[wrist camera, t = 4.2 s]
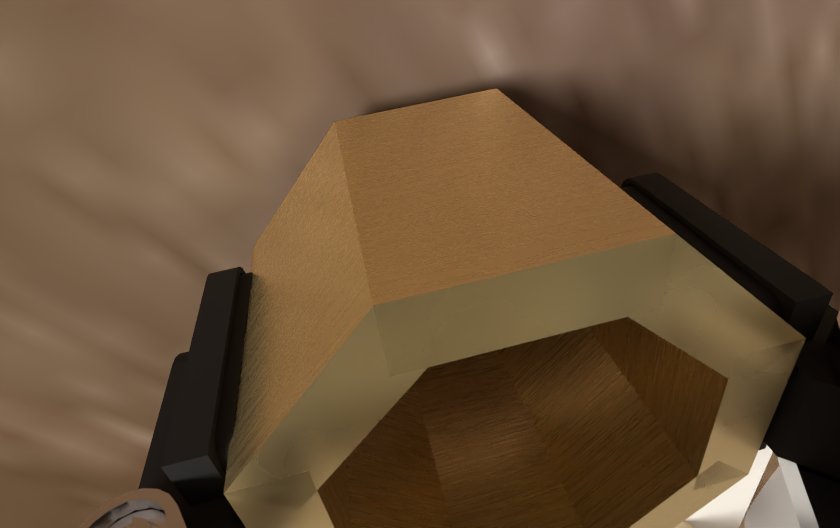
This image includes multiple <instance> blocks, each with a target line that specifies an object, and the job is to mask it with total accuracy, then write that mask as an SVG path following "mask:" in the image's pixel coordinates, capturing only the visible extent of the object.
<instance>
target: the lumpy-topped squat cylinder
mask: <svg viewBox="0 0 840 528" xmlns="http://www.w3.org/2000/svg"><path fill="white" fill-rule="evenodd" d="M745 528H800V525H799V522H798V519H797V516H796V512H795V509H794V506H793V503H792V500H791V497H790V494H789V491H788V488H787V485H786V482H785V479H784V476H783V473H782V470H781V467H780V466H779V467H778V468H777V470H776V471H775V472H774V473H773V475H772V476H771V477H770V479H769V480H768V481H767V483H766V484H765V485H764V487H763V488H762V489H761V491H760V492H759V494H758V495H757V497H756V498H755V500H754V501H753V503H752V504H751V506H750V508H749V510H748V511H747V514H746V517H745Z"/></svg>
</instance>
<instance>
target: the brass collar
mask: <svg viewBox="0 0 840 528" xmlns="http://www.w3.org/2000/svg"><path fill="white" fill-rule="evenodd" d="M251 272H252V279H251V288H250V296H249V305H248V313H247V322H246V330H245V339H244V347H243V356H242V364H241V373H240V381H239V390H238V398H237V407H236V415H235V424H234V432H233V436H232V439H231V442H230V446H229V454H228V462H227V470H226V478H225V487H224V495H225V497H226V498H227V500H228V501H229V503H230V504H231V506H232V507H233V509H234V510H235V512H236V513H237V515H238V516H239V518H240V519H241V521H242V522H243V524H244V526H245V527H246V528H675V527H676V526H677V525H679V524H680V523H682V522H683V521H684V520H686V519H687V518H689V517H690V516H691V515H693V514H694V513H695V512H697V511H698V510H700V509H701V508H702V507H704V506H705V505H707V504H708V503H709V502H711V501H712V500H713V499H715V498H716V497H718V496H719V495H720V494H722V493H723V492H725V491H726V490H727V489H729V488H730V487H731V486H733V485H734V484H736V483H737V482H738V481H740V480H741V479H743V478H744V477H745V476H747V475H748V474H749V472H750V469H751V467H752V465H753V462H754V460H755V458H756V455H757V453H758V450H759V448H760V446H761V443H762V441H763V439H764V436H765V434H766V432H767V429H768V427H769V424H770V422H771V420H772V417H773V415H774V413H775V410H776V408H777V406H778V403H779V401H780V399H781V396H782V394H783V391H784V389H785V387H786V384H787V382H788V380H789V377H790V375H791V373H792V370H793V368H794V365H795V363H796V361H797V358H798V356H799V354H800V351H801V349H802V347H803V344H804V342H805V339H806V338H805V337H804V336H802V335H801V334H800V333H799V332H798V331H796V330H795V329H794V328H793V327H791V326H790V325H789V324H788V323H786V322H785V321H784V320H783V319H781V318H780V317H779V316H778V315H777V314H775V313H774V312H773V311H772V310H770V309H769V308H768V307H767V306H765V305H764V304H763V303H762V302H760V301H759V300H758V299H757V298H755V297H754V296H753V295H752V294H750V293H749V292H748V291H747V290H745V289H744V288H743V287H742V286H740V285H739V284H738V283H737V282H736V281H734V280H733V279H732V278H731V277H729V276H728V275H727V274H726V273H724V272H723V271H722V270H721V269H719V268H718V267H717V266H716V265H714V264H713V263H712V262H711V261H710V260H708V259H707V258H706V257H705V256H703V255H702V254H701V253H700V252H698V251H697V250H696V249H695V248H693V247H692V246H691V245H690V244H689V243H687V242H686V241H685V240H684V239H682V238H681V237H680V236H679V235H677V234H676V233H675V232H674V231H672V230H671V229H670V228H669V227H667V226H666V225H665V224H664V223H663V222H661V221H660V220H659V219H658V218H656V217H655V216H654V215H653V214H651V213H650V212H649V211H648V210H646V209H645V208H644V207H643V206H642V205H640V204H639V203H638V202H637V201H635V200H634V199H633V198H632V197H630V196H629V195H628V194H627V193H625V192H624V191H623V190H622V189H620V188H619V187H618V186H617V185H616V184H614V183H613V182H612V181H611V180H609V179H608V178H607V177H606V176H604V175H603V174H602V173H601V172H600V171H598V170H597V169H596V168H595V167H593V166H592V165H591V164H590V163H588V162H587V161H586V160H585V159H583V158H582V157H581V156H580V155H578V154H577V153H576V152H575V151H573V150H572V149H571V148H570V147H569V146H567V145H566V144H565V143H564V142H562V141H561V140H560V139H559V138H557V137H556V136H555V135H554V134H552V133H551V132H550V131H549V130H547V129H546V128H545V127H544V126H543V125H541V124H540V123H539V122H538V121H536V120H535V119H534V118H533V117H531V116H530V115H529V114H528V113H526V112H525V111H524V110H523V109H522V108H520V107H519V106H518V105H517V104H515V103H514V102H513V101H512V100H510V99H509V98H508V97H507V96H505V95H504V94H503V93H502V92H500V91H499V90H498V89H497V88H495V89H490V90H485V91H481V92H476V93H471V94H466V95H461V96H456V97H451V98H446V99H442V100H437V101H432V102H427V103H422V104H417V105H412V106H407V107H402V108H398V109H393V110H388V111H383V112H378V113H373V114H368V115H363V116H359V117H354V118H349V119H344V120H339V121H334V123H333V125H332V126H331V128H330V129H329V131H328V132H327V134H326V135H325V137H324V139H323V140H322V142H321V143H320V145H319V146H318V148H317V149H316V151H315V153H314V154H313V156H312V157H311V159H310V160H309V162H308V163H307V165H306V167H305V168H304V170H303V171H302V173H301V174H300V176H299V177H298V179H297V181H296V182H295V184H294V185H293V187H292V188H291V190H290V191H289V193H288V195H287V196H286V198H285V199H284V201H283V202H282V204H281V205H280V207H279V209H278V210H277V212H276V213H275V215H274V216H273V218H272V219H271V221H270V223H269V224H268V226H267V227H266V229H265V230H264V232H263V233H262V235H261V237H260V238H259V240H258V241H257V243H256V244H255V246H254V249H253V257H252V266H251Z"/></svg>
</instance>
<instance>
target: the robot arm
mask: <svg viewBox="0 0 840 528" xmlns="http://www.w3.org/2000/svg"><path fill="white" fill-rule="evenodd" d="M620 189H622V190H623V191H624V192H625V193H627V194H628V195H629V196H630V197H632V198H633V199H634V200H635V201H637V202H638V203H639V204H640V205H642V206H643V207H644V208H645V209H646V210H648V211H649V212H650V213H651V214H653V215H654V216H655V217H656V218H658V219H659V220H660V221H661V222H663V223H664V224H665V225H666V226H667V227H669V228H670V229H671V230H672V231H674V232H675V233H676V234H677V235H679V236H680V237H681V238H682V239H684V240H685V241H686V242H687V243H689V244H690V245H691V246H692V247H693V248H695V249H696V250H697V251H698V252H700V253H701V254H702V255H703V256H705V257H706V258H707V259H708V260H710V261H711V262H712V263H713V264H714V265H716V266H717V267H718V268H719V269H721V270H722V271H723V272H724V273H726V274H727V275H728V276H729V277H731V278H732V279H733V280H734V281H736V282H737V283H738V284H739V285H740V286H742V287H743V288H744V289H745V290H747V291H748V292H749V293H750V294H752V295H753V296H754V297H755V298H757V299H758V300H759V301H760V302H762V303H763V304H764V305H765V306H767V307H768V308H769V309H770V310H772V311H773V312H774V313H775V314H777V315H778V316H779V317H780V318H781V319H783V320H784V321H785V322H786V323H788V324H789V325H790V326H791V327H793V328H794V329H795V330H796V331H798V332H799V333H800V334H801V335H802V336H804V337H805V338H806V339H805V342H804V344H803V347H802V349H801V351H800V354H799V356H798V358H797V361H796V363H795V365H794V368H793V370H792V373H791V375H790V377H789V380H788V382H787V384H786V387H785V389H784V391H783V394H782V396H781V399H780V401H779V403H778V406H777V408H776V410H775V413H774V415H773V417H772V420H771V422H770V424H769V427H768V429H767V432H766V434H765V436H764V439H763V441H762V443H761V446H760V448H759V450H762V449H765V448H766V446H768V447H769V448H770V449H771V450H772V451H773V452H774V453H775V454H776V456H777V457H778V461H779V464H780V467H781V470H782V473H783V476H784V479H785V482H786V485H787V488H788V491H789V494H790V497H791V500H792V503H793V506H794V509H795V512H796V516H797V519H798V522H799V525H800V528H840V310H839V312H838V311H837V310H835V309H834V308H832V307H831V306H830V305H828V304H829V301H830V299H831V297H832V294H833V293H832V292H831V291H829V290H828V289H827V288H825V287H824V286H822V285H821V284H819V283H818V282H816V281H815V280H813V279H812V278H810V277H809V276H808V275H806V274H805V273H803V272H802V271H800V270H799V269H797V268H796V267H794V266H793V265H791V264H790V263H789V262H787V261H786V260H784V259H783V258H781V257H780V256H778V255H777V254H775V253H774V252H773V251H771V250H770V249H768V248H767V247H765V246H764V245H762V244H761V243H759V242H758V241H756V240H755V239H754V238H752V237H751V236H749V235H748V234H746V233H745V232H743V231H742V230H740V229H739V228H737V227H736V226H735V225H733V224H732V223H730V222H729V221H727V220H726V219H724V218H723V217H721V216H720V215H718V214H717V213H716V212H714V211H713V210H711V209H710V208H708V207H707V206H705V205H704V204H702V203H701V202H699V201H698V200H697V199H695V198H694V197H692V196H691V195H689V194H688V193H686V192H685V191H683V190H682V189H680V188H679V187H678V186H676V185H675V184H673V183H672V182H670V181H669V180H667V179H666V178H664V177H663V176H662V175H660V174H658V173H651V174H646V175H642V176H638V177H633V178H629V179H626V180H625V181H624V182H623V184H622V186H621V188H620ZM251 279H252V272H250V273H245V271H244V270H243V269H242V268H241V267H237V268H233V269H228V270H224V271H219V272H215V273H211V274H209V275H208V277H207V280H206V284H205V288H204V292H203V296H202V300H201V304H200V309H199V313H198V317H197V321H196V325H195V329H194V333H193V337H192V341H191V346H190V350H189V352H185V353H181V354H179V355H178V356H177V357H176V358H175V360H174V362H173V365H172V368H171V372H170V376H169V379H168V383H167V387H166V390H165V394H164V398H163V401H162V405H161V409H160V412H159V416H158V420H157V423H156V427H155V431H154V434H153V438H152V441H151V445H150V449H149V452H148V456H147V460H146V463H145V467H144V471H143V474H142V478H141V482H140V485H139V489H138V490H134V491H130V492H126V493H124V494H122V495H120V496H118V497H116V498H114V499H112V500H110V501H108V502H106V503H105V504H104V505H102V506H101V507H100V508H98V509H97V510H96V511H94V512H93V513H92V514H90V515H89V516H88V517H87V518H86V519H85V520H84V521H83V522H82V523H81V525H80V526H79V527H78V528H246V527H245V526H244V524H243V522H242V521H241V519H240V518H239V516H238V515H237V513H236V512H235V510H234V509H233V507H232V506H231V504H230V503H229V501H228V500H227V498H226V497H225V495H224V487H225V478H226V470H227V462H228V454H229V446H230V442H231V439H232V436H233V432H234V424H235V415H236V407H237V398H238V390H239V381H240V373H241V364H242V356H243V347H244V339H245V330H246V322H247V313H248V305H249V296H250V288H251Z"/></svg>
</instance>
